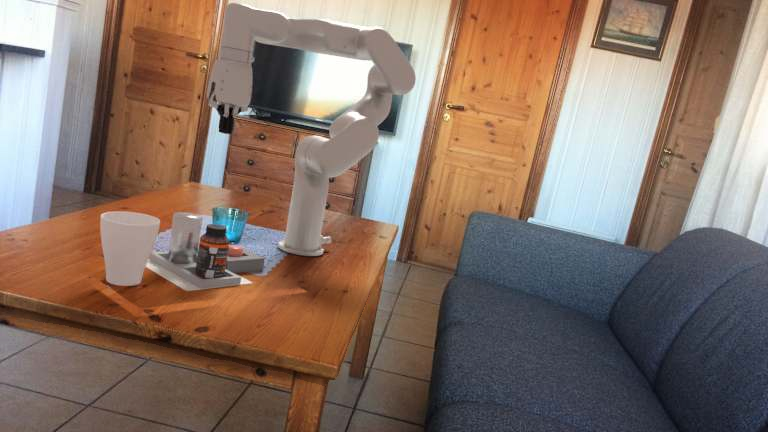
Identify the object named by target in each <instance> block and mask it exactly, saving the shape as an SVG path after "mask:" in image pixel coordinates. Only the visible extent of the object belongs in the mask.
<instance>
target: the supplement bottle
mask: <svg viewBox="0 0 768 432" xmlns="http://www.w3.org/2000/svg"><path fill="white" fill-rule="evenodd" d="M205 231H206V232H205V233H204V234H201V235H200V240H199V247H198V256H197V263H196V270H195V275H196V276H198V277H200V278H201V279H212V278H222V277H224V274H225V268H226V261H227V255H228V248H229V245H230V239H229V238H228V237H227V227H226V226H224V225H221V224H215V223H209V224H206V228H205Z"/></svg>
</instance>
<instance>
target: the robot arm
mask: <svg viewBox="0 0 768 432" xmlns="http://www.w3.org/2000/svg"><path fill="white" fill-rule="evenodd" d="M255 41H256V42H257V43H260V44H264V45H271V46H277V47H283V48H290V49H296V50H302V51H305V52H310V53H314V54H321V55H322V54H323V55H328V56H334V57H335V56H336V57H340V58H341V57H342V58H346V59H353V60H358V61H359V60H360V61H371V62H372V63H373V65H372V67H370V69H369V70H368V73H367V74H368V75H367V85H366V90H365V94H364V96H362V97H361V98H360V99H359V100H358V101H357V102H356V103H355V104H353V105H352V106H351V107H350V108H348V109H347V110H346V111H344V112H343V113H342V114H340V115H339V116H337V117H336V118H335V119H334V120H333V121H332V123H330V125H329V137H330V138H327V137H325V136H320V135H308V136H306V137H304V138H303V139H302V140H301V141H299V143H298V145H297V147H296V150H295V154H294V155H295V156H294V159H295V160H294V163H295V164H294V178H293V186H292V192H291V198H290V204H289V210H288V215H287V221H286V222H287V224H286V229H285V236H284V239H282V240H280V241H278V243H277V248H278V249H280V250H281V251H283V252H285V253H289V254H293V255H297V256H303V257H318V256H322V255H323V254H324V252H325V249H324V248H323V246H322V245H323V244H331V243H332V237H331V236H324V235H322V230H323V224H324V223H323V222H324V218H325V213H326V204H327V202H328V201H327V199H328V195H329V187H330V178H336V177H339V176H341V175H342V174H344V173H345V172H347V171H348V170H349V169H350V168H352V167H353V166H354V165H356V164H357V163H358V162H359V161H360V160H362V159H364V157H366V156H367V155H368V154H369V153H370V152H372V151H373V150H374V148H375V147H376V145H377V143H378V141H379V139H380V137H379V136H380V131H379V127H378V126H379V125H381V124H382V123H383V122H384V120H386V119H387V117H389V114H390V112H391V108H392V103H393V102H392V101H393V95H395V96H403V95H406V94H408V93H410V92H411V91H412V90H413V88H414V86H415V84H416V80H417V78H416V73H415V70H414V67H413V66H412V64H411V63H410V61H409V60H408V58H407V57H406V54H405V53H404V52H403V51H402V49H401V48H400V46H399V45H398V44H397V42H396V41H395V39H394V38H393V37H392V35H391V34H390V33H389V32H388V31H387V30H386V29H384V28H383V27H379V26H371V27H370V26H369V27H367V26H362V25H361V26H360V25H354V24H349V23H343V22H339V21H334V20H330V19H322V18H320V19H319V18H310V19H309V18H294V17H287V16H286V15H285V14H284V13H282V12H280V11H277V10H270V9H269V10H266V9H260V8H255V7H253V6H250V5H247V4H244V3H239V2H230V3H228V4H227V5H226V7H225V11H224V20H223V26H222V33H221V40H220V47H219V48H220V49H219V56H218V59H215V61H214V63H213V66H212V68H211V72H210V76H209V79H208V84H207V90H206V98H207V100H208V104H207V105H208V106H209V107H210V108H213V109H216V112H217V114H218V116H219V122H218V132H219V133H221V134H225V135H232V132H233V129H234V128H233V127H234V122H235V119H236V118H237V116H238V115H239V114H240V113H243V112H247V111H249V107H248V106H250V104H251V99H252V94H253V78H254V77H253V67H252V66H251V64H252V63H254V62H255V56H253V51H254V49H253V48H254V42H255Z"/></svg>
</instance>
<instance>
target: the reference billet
mask: <svg viewBox="0 0 768 432" xmlns="http://www.w3.org/2000/svg"><path fill="white" fill-rule="evenodd" d="M203 218H204V217H203V216H202V215H200V214H199V213H198V214H197V213H193V212H185V211H184V212H181V211H180V212H179V211H178V212H173V215H172V220H171V221H172V223H171V228H170V229H171V231H170V238H169V239H170V240H169V245H168V246H169V247H168V252H169V253H168V260H169V261H171V262H173V263H174V264H188V263H196V262H197V255H198V250H199V243H200V237H201V230H202V224H203Z"/></svg>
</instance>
